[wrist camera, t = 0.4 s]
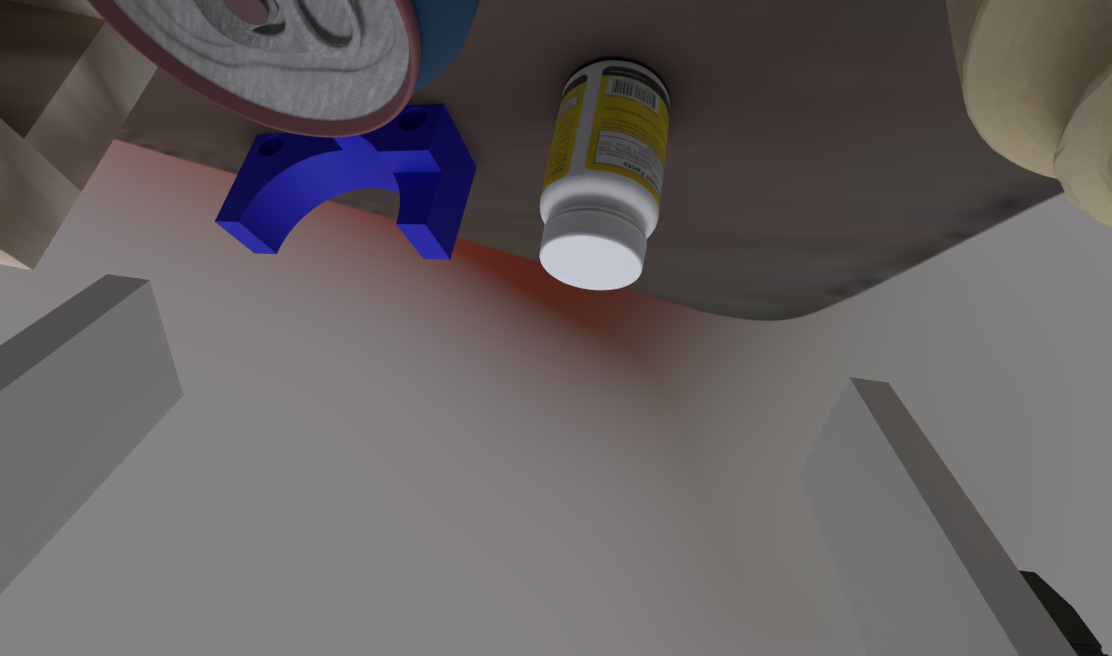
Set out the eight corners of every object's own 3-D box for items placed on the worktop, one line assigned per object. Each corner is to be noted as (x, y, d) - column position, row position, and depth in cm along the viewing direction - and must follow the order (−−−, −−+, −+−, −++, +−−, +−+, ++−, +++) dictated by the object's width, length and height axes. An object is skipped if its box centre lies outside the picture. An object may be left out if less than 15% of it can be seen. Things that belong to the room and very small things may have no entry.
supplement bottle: (584, 146, 28) (555, 297, 25) (546, 69, 24) (505, 235, 21) (682, 131, 26) (664, 293, 23) (657, 44, 22) (632, 224, 19)
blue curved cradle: (444, 101, 27) (410, 204, 25) (477, 165, 31) (450, 259, 29) (239, 111, 30) (192, 203, 28) (292, 168, 34) (254, 253, 32)
